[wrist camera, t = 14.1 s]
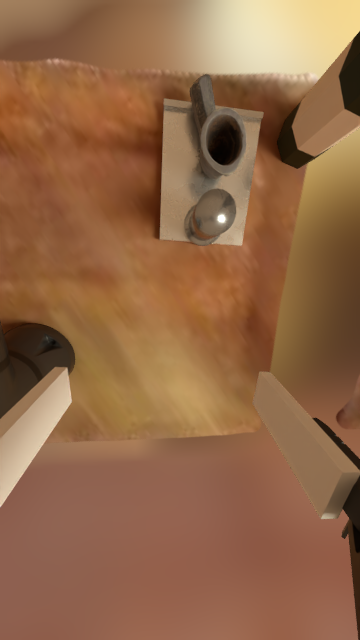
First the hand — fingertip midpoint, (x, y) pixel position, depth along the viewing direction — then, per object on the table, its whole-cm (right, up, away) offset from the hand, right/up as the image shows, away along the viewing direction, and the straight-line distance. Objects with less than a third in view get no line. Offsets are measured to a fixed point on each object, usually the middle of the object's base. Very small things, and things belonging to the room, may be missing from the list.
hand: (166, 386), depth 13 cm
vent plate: (+6, +29, +21) cm, 37 cm away
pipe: (+6, +33, +18) cm, 39 cm away
